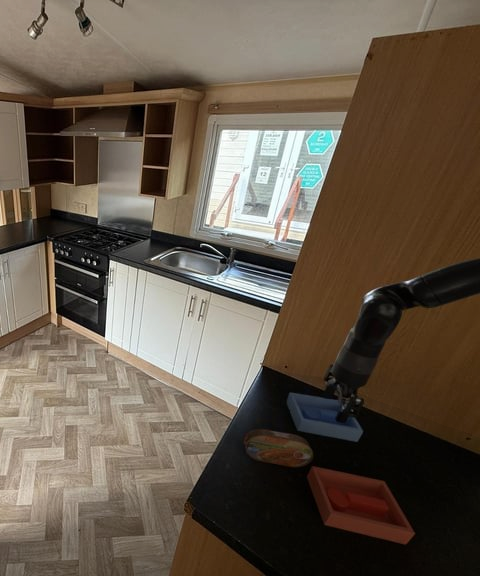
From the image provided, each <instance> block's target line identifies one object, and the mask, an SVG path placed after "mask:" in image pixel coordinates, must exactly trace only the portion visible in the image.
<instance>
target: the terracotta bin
mask: <svg viewBox="0 0 480 576" xmlns="http://www.w3.org/2000/svg"><path fill="white" fill-rule="evenodd" d="M310 467H311V468H310V470H309V472H308V473H307V475H306V478H307V481H308V484H309V487H310V490H311V492H312V496H313V498H314V501H315V503H316V506H317V509H318V512H319V514H320V517H321V520H322V522H323V526H326V527H332V528H336V529H340V530H343V531H348V532H352V533H356V534H360V535H364V536H369V537H373V538H377V539H380V540H385V541H390V542H394V543H397V544H401V545H407V544H408V543H409V542H410V541H411V540H412V538H413V537H414V536H415V535H416V532H415V531H414V529H413V527H412V526H411V524H410V522H409V521H408V519H407V517H406V515H405V514H404V512H403V510H402V508H401V507H400V505H399V503H398V502H397V500H396V499H395V496H394V495H393V493H392V491H391V490H390V487H388V485H387V483H386V481H385V480H380V479H375V478H370V477H367V476H362V475H361V476H360V475H358V474H352V473H348V472H343V471H337V470H332V469H330V468H329V469H328V468H323V467H319V466H313V465H311V466H310ZM329 488H336V489H338V490H340V491H341V492H343V493H344V494H345V495H346V494H347V492H348V493H353V494H358V495H362V496H367V497H371V498H376V499H380V500H384V501H385V502H386V504H387V506H388V508H389V510H388V511H387V513H386V514H385V515H384V517H381V516H377V515H372V514H368V513H363V512H359V511H355V510H350V509H346V510H345V511H343V512H339V511H336V510H334V509H332V506H331V504H330V501H329V499H328V496H327V494H326V492H327V490H328V489H329Z"/></svg>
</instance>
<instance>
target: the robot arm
mask: <svg viewBox="0 0 480 576" xmlns="http://www.w3.org/2000/svg"><path fill="white" fill-rule="evenodd" d="M476 295H480V257H476V258H471V259H467V260H461V261H457V262H454V263H450V264H448V265H445V266H443V267H440V268H437V269H435V270H432V271H429V272H427V273H424V274H422V275H419V276H417V277H414V278H412V279H407V280H403V281H399V282H395V283H391V284H385V285H383V286H380V287H377V288H375V289H373V290H370V291H369V292H367V293H366V294H365V295H364V296H363V297H362V299H361V304H360V310H359V313H358V316H357V317H356V321H355V323H354V325H353V326H352V327H351V329H350V330H349V331H348V334H347V336H346V338H345V341H344V343H343V344H342V346H341V348H340V349H339V351H338V354H337V356H336V358H335V360H334V363H333V364H331V363H330V364H329V366H328V368H327V370H326V372H325V374H324V376H323V381H324V382H325V384H324V386H325V389H324V390H323V394H322V398H325V399H333V398H334V395H335V393H336V394H337V400H338V402H339V403H340V410H339V411H338V414H337V416H336V418H335V420H336V422H340V423H346V421H347V419H348V417H353V418H355V419H358V417H359V415H360V412H361V410H362V407H363V406H364V403H365V399H364V398H363V397H359V395H358V390H359V389H360V388H362V387H365V386H366V385H367V384H368V381H369V380H370V377H371V376H372V373H373V372H374V370H375V368H376V366H377V363H378V360H379V357H380V355H381V353H382V351H383V349H384V347H385V346H386V342H387V340H388V339H389V338H390V337H391V335H392V334H393V332H394V331H395V330H396V329H397V327H398V325H399V323H400V321H401V319H402V316H403V311H407V310H411V309H414V308H418V307H422V308H424V309H434V308H438V307H442V306H444V305H448V304H451V303H455V302H457V301H461V300H464V299H467V298H469V297H473V296H476ZM344 399H347V400H344ZM345 404H347V406H346V408H344V406H345Z"/></svg>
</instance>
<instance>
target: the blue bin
mask: <svg viewBox="0 0 480 576" xmlns="http://www.w3.org/2000/svg"><path fill="white" fill-rule="evenodd" d="M286 402H287V403H286V406H287V408H288V410H290V411H289V413H290V416H291V418H292V421H293V424H294V426H295V428H296V431H298V432H302V433H308V434H313V435H319V436H323V437H328V438H329V437H330V438H334V439H339V440H346V441H350V442H356V443H358V442H359V440H360V439H361V436H362V435H363V433H364V430H363V428H362V427H361V425H360V424H359V422H358V420H357V418H353V417H349V418H350V419H349V421H348V423H347V425H346V426H343V425H337V424H331V423H326V422H320V421H314V420H308V419H304V418H303V416H302V412H303V410H304V408H305V407H311V408H313V409H315V410H317V411H318V410H319V409H323V410H329V411H335V412H338V411H339V410H340V403H339V402H338V399H333V398H332V399H325V398H323V397H320V396H314V395H309V394H303V393H297V392H296V393H295V392H289V393H288V396H287V398H286ZM346 406H347V404H345V406H344V408H346Z"/></svg>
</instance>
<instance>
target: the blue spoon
mask: <svg viewBox="0 0 480 576" xmlns="http://www.w3.org/2000/svg"><path fill="white" fill-rule="evenodd" d="M337 414H338V412H335V411H329V410H323V409H319V410H318V411H317V410H315V409H313V408H311V407H305V408H304V410H303V412H302V416H303V418H304V419H308V420H314V421H320V422H326V423H331V424H337V425H343V426H346V425H347V423H348V421H349V419H350V418H349V417H348V419H347V421H346V423H340V422H336V420H335V418H336V416H337Z"/></svg>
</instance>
